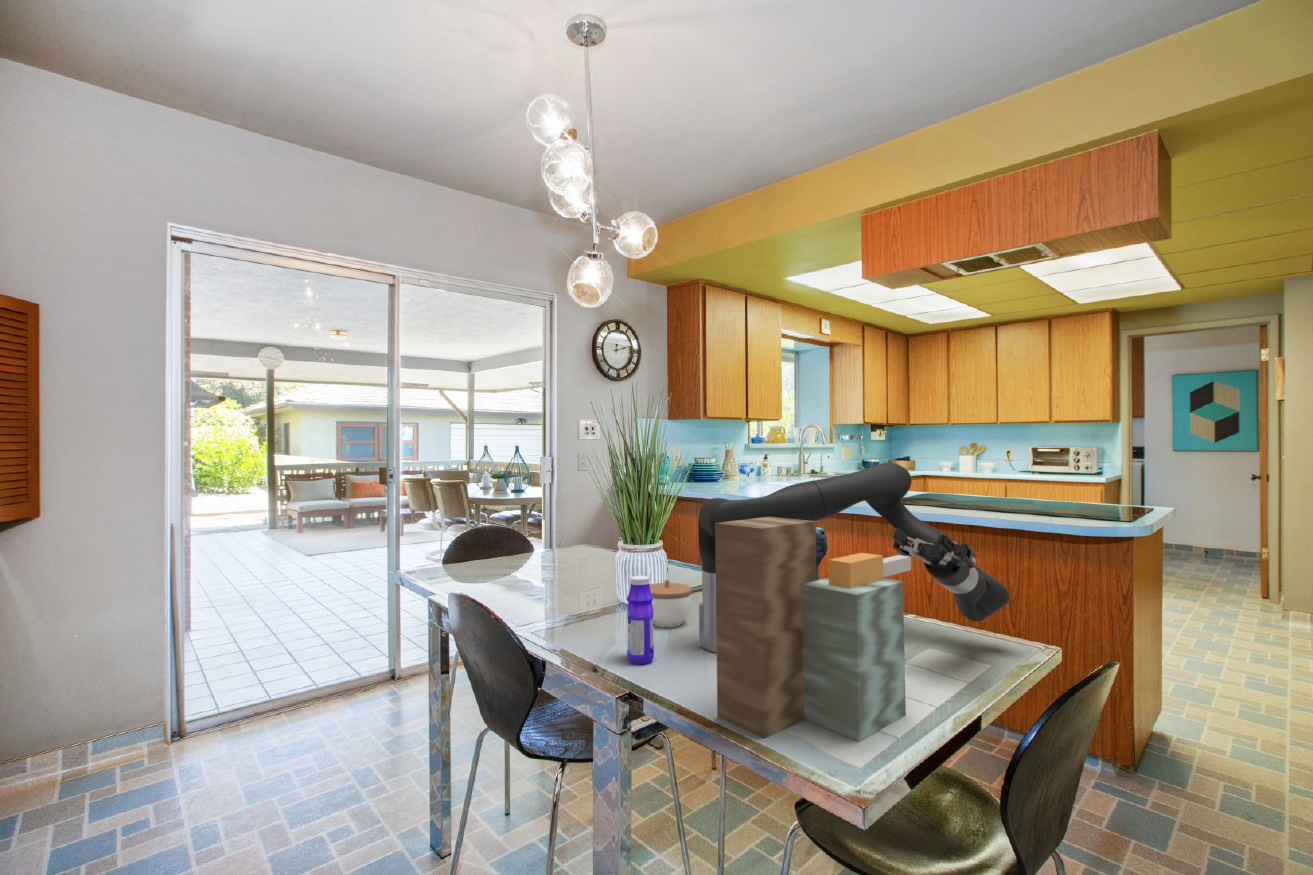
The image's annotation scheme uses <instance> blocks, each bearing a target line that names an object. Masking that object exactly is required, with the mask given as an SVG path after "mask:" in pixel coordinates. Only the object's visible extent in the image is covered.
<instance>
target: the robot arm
mask: <svg viewBox="0 0 1313 875" xmlns="http://www.w3.org/2000/svg"><path fill="white" fill-rule="evenodd" d="M911 487H912V475H911V473H910V472H909V470H908V469H907V468H905V467H904V466H902V465H900V464H897V463H893V462H884V463H879V464H876V465H873V466H869V467H867V468H864V469H861V470H857V471H853V472H851V473H845V474H840V475H835V476H830V477H826V478H821V479H814V480H809V481H803V482H798V483H795V484H791V485H788V486H785V487H782V488H781V489H778V490H776V491H774V492H772V493H770V494H767V495H765V496H760V497H755V498H754V497H753V498H747V499H728V498H722V497H714V498H710V499H708V500H706V501H705V502H704V503H703V504H702V506H701V507H700V509H699V512H698V519H697V531H698V532H697V533H698V534H697V535H698V552H699V557H700V561H701V576H702V577H701V588H702V593H701V594H702V599H701V600H702V602H701V603H699V605H698V634H699V635H698V637H699V639H698V641H699V642H698V643H699V645H698V646H699V648H703V649H705V650H707V651H709V652H713V653H717V636H716V556H715V523H721V522H729V521H737V520H746V519H754V518H763V517H778V518H788V519H798V520H808V521H820V520H823V519H828V518H830V517H833V516H835V515H837V514H839V513H841V512H843V511H844V510H846V509H848V508H850V507H852V506H855V505H856V504H859V503H862V502H866V504H867V505H869V507H870V508H872V509H873V510H874V511H875V512H876V513H877V514H878V515H879V516H881V517H882V518H883V520H885V521H886V522H888V524H889V525H891V527H893V528H894V529H895V530H894V531H893V536H892V539H893V540H894V541H893V544H892V548H893V549H894V550H895V551H897V553H899V555H902V556H909V557H911V558H912V557H915V558H917V559H919V560H920V561H922V562H923V564H924V568H925V570H926V571H927V573H928V574H929V575H930V576H931V577H932V578H934V579H935V580H936V582H937V583H938V584H940V585H941V586H942V587H944V589H946V590H948V591H949V592H950V593H951V594H953V597H954V600H955V604H956V606H957V608H958V610H959V612H960V613H961V614H962V616H964V617H965V618H966V619H967V620H969V621H970V622H975V623H977V622H982V621H984V620H986V619H987V618H989V617H991V615H993V614H994V613H996V612H997V611H999V610H1001V609H1003V608H1004V607H1005V606H1007V605H1008V604H1009V603H1010V598H1011V597H1010V592H1009V591H1008V589H1007V588H1006V586H1005V585H1004V584H1003V583H1002V582H1000V581H999V580H997V579H996V578H994V577H992V576H991V575H990V574H988V573H986V571H983V570H982V569H981V568H979V567H978V566H977V565H976V559H977V555H976V552H974V551H973V549H972V548H971V547H970V546H969V544H967V543H961V544H958V542H956V541H955V540H952V539H951V538H950V537H949V536H947V534H945V533H943V532H942V531H941V530H939V529H937V528H936V527H933V526H932V525H930V524H928V523H926V522H924V521H923V520H921V519H919V518H918V517H916V516H915V515H914V514H913V513H912V512H911V511H909V509H908V508H907V507H906V506H905V504H904V503H903V501H902V499H903V498H904V497H905V496H907V494H908V493H909V491H910V489H911ZM909 542H910V543H911V544H910V543H909Z"/></svg>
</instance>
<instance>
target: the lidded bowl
mask: <svg viewBox="0 0 1313 875" xmlns="http://www.w3.org/2000/svg"><path fill="white" fill-rule="evenodd" d="M649 585H650V591H651V594H652V596H653V600H652V605H653V625H654V624H655V625H657V626H656V627H658V626H659V628H664V627H667V628H668V629H669V628H677V627H679V625H680V624H681V625H683V624H682V623H683V622H684V621H685V620H686V618H687V617H688V616H689V614H690V610H691V608H692V606H691V605H692V593H693V588H692V587H691V586H690V585H688V584H685V583H678V582H670V580H669V579H664V582H657V583H656V582H655V583H651V584H650V583H649ZM655 625H654V626H655ZM681 625H680V626H681ZM676 626H677V627H676Z"/></svg>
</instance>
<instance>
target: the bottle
mask: <svg viewBox="0 0 1313 875" xmlns="http://www.w3.org/2000/svg"><path fill="white" fill-rule="evenodd" d="M652 600H653V596H652V594H651V591H650V576H647V575H634V576H631V577H630V588H629V592H628V595H627V596H626V602H628V603H627V609H626V616H627V650H626V655H627V659H628V661H629V663H632V664H635V665H639V664H641V665H642V664H649V663H651V662H652V661H653V659H654V655H655V650H654V646H655V645H654V642H655V641H654V623H653V605H652Z"/></svg>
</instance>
